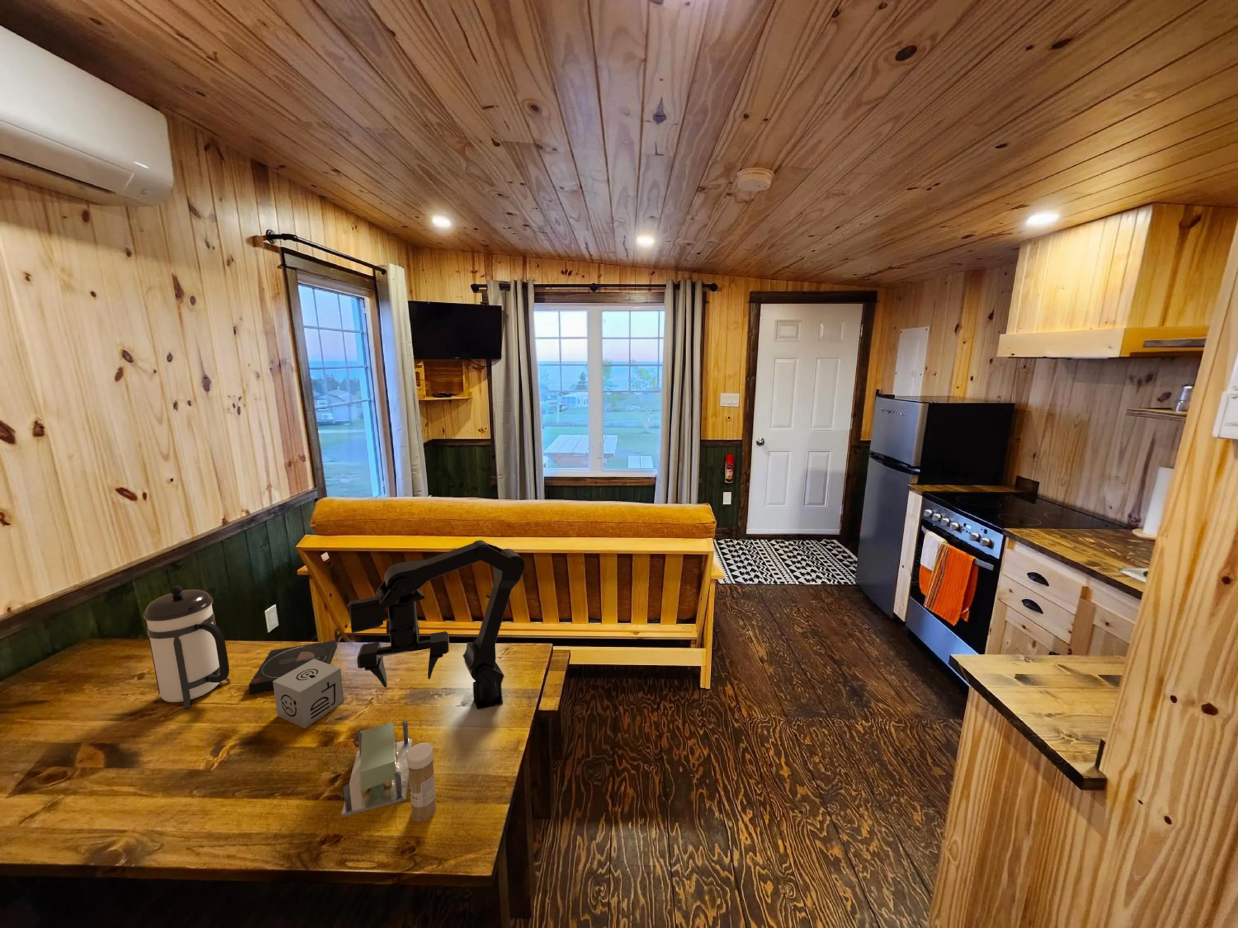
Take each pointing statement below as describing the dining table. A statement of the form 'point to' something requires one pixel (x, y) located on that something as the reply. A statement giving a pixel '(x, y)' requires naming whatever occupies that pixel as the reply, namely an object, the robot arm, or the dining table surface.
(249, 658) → the dining table surface
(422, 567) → the robot arm
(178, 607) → the coffee press
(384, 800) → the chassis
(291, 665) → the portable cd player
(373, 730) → the board
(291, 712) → the icon cube
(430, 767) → the sprinkles bottle
